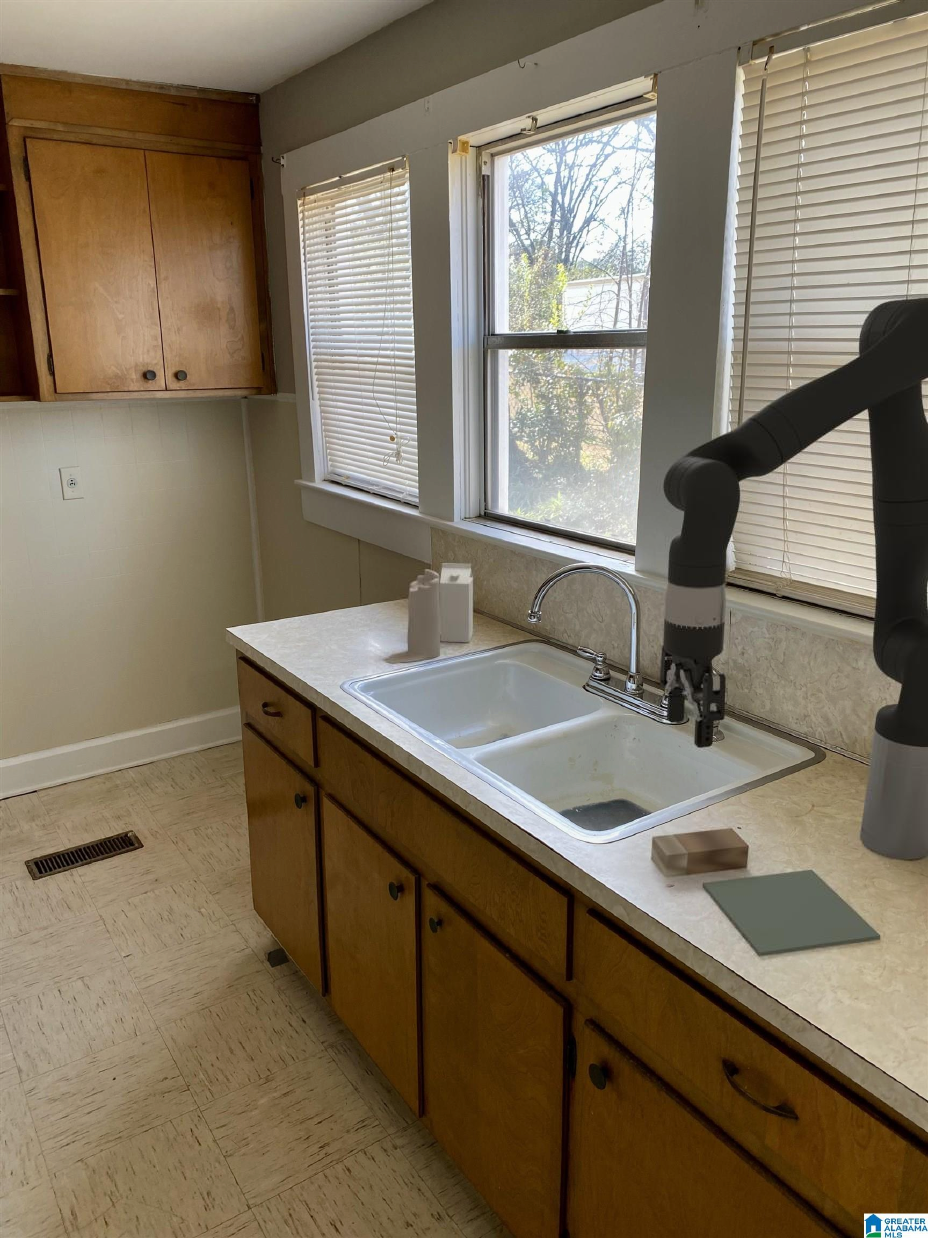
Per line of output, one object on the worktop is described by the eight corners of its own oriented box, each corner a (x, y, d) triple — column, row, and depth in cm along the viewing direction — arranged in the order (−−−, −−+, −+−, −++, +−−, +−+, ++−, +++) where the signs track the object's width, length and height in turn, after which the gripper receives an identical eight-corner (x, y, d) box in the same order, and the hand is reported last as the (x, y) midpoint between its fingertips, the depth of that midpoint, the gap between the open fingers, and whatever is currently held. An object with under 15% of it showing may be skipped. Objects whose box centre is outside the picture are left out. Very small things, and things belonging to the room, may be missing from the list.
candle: (378, 657, 214) (376, 574, 208) (430, 648, 220) (429, 566, 215) (392, 666, 208) (390, 580, 202) (445, 656, 214) (444, 573, 209)
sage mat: (811, 872, 125) (811, 869, 125) (880, 939, 111) (880, 935, 111) (702, 886, 122) (702, 883, 122) (759, 956, 108) (759, 952, 108)
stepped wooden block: (729, 849, 131) (731, 828, 130) (746, 868, 127) (748, 845, 126) (651, 858, 129) (652, 836, 128) (665, 878, 124) (667, 855, 123)
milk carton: (445, 633, 232) (444, 560, 226) (472, 634, 231) (472, 560, 225) (440, 642, 225) (439, 566, 220) (469, 643, 224) (469, 567, 219)
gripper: (749, 629, 111) (741, 752, 115) (697, 599, 124) (691, 710, 129) (691, 634, 109) (685, 759, 114) (645, 603, 123) (641, 716, 127)
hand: (688, 733), depth 121 cm, fingers open, 8 cm apart
